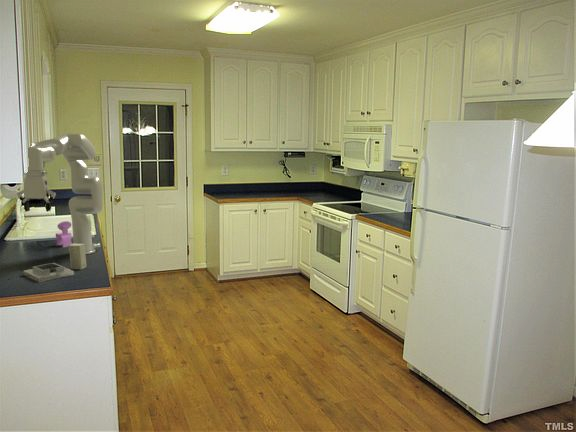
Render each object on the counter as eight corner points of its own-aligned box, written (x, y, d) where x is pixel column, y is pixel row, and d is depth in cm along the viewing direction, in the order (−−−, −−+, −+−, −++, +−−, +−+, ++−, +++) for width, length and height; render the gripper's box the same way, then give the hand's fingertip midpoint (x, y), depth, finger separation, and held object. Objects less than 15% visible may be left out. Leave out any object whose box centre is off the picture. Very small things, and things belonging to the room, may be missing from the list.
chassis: (57, 268, 250) (56, 260, 249) (74, 274, 238) (73, 266, 237) (23, 274, 238) (22, 266, 237) (39, 282, 226) (38, 273, 225)
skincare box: (87, 267, 251) (85, 243, 249) (81, 269, 247) (79, 245, 244) (75, 266, 252) (74, 243, 250) (70, 269, 248) (68, 244, 246)
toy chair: (68, 243, 306) (66, 218, 303) (74, 245, 300) (73, 220, 297) (54, 245, 299) (52, 220, 297) (61, 247, 294) (59, 222, 291)
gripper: (57, 173, 234) (60, 209, 236) (20, 173, 234) (23, 210, 236) (50, 174, 226) (53, 212, 229) (11, 174, 226) (14, 212, 229)
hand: (37, 211), depth 233 cm, fingers open, 9 cm apart
